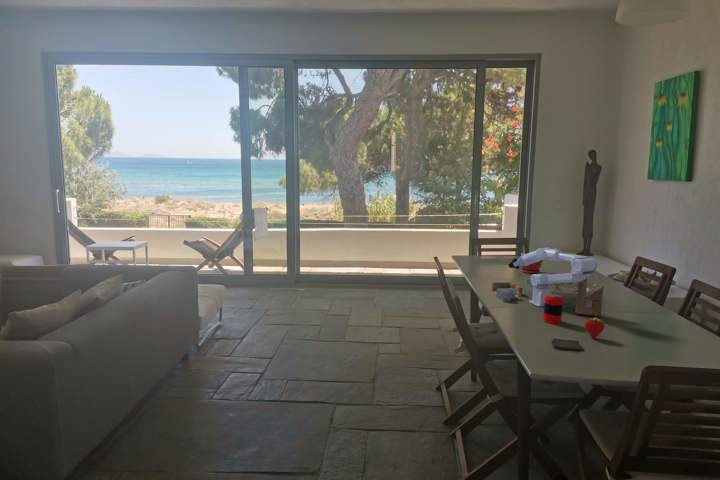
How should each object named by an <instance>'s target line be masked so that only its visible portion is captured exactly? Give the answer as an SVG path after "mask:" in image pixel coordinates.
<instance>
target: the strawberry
mask: <svg viewBox="0 0 720 480" xmlns="http://www.w3.org/2000/svg"><path fill="white" fill-rule="evenodd" d="M584 329H585V330H586V331H587V334H588V335H589V336H590V337H591V338H592V339H595V338H597V337H598V336H599V335H601V334H602V332H603V331H604V330H605V323H604V322H603V321H602V320H601V319H600V318H598V316H595V317H594V316H593V317H592V318H591V317H588V320H586V321H585V322H584Z"/></svg>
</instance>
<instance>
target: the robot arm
mask: <svg viewBox="0 0 720 480" xmlns="http://www.w3.org/2000/svg"><path fill="white" fill-rule="evenodd" d="M520 255H521V256H520V257H519V258H518V259H517V258H516V257H515V258H513V259H512V260H511V262H510V263H508V268H509V269H515V270H519V269H520V268H521V267H522V266H528V265H530V264H533V263H536V262H539V261H541V260H542V261H543V260H547V261H552V262H557V263H558V262H561V261H564V262H569V263H570V266H571V270H570V272H567V273H566V272H565V273H556V274H553V273H552V274H551V273H549V272H544V273H537V274H531V275H530V278H529V280H530V284H531V286H532V287H533V288H532V298H531V300H528V302H529V303H530V304H533V305H535V306H537V307H544V304H545V297H546V296H547V295H548V294H552V291H551V290H550V289H549V287H550V286H551V285H552V284H553V285H554V284H570V283H571V284H572V283H578V282H582V281H583V280H585V279H586V278H587V279H588V278H589V277H591V275H593V274H595V273H596V272H597V269H598V265H599V264H598V261H597V260H596V259H595V258H594V257H589V256H586V255H581V254H580V255H579V254H571V253H563V251H562V250H560V249H559V248H551V247H541V248H540V247H539V248H537V249H536V250H534V251H531V252H527V254H525V252H522V253H520ZM520 266H521V267H520Z"/></svg>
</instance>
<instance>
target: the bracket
mask: <svg viewBox="0 0 720 480" xmlns="http://www.w3.org/2000/svg"><path fill="white" fill-rule="evenodd" d="M495 292H496V293H495V294H496V295H495V298H496V299H498V300H499V301H501V302H504V303H506V302H508V303H509V302H511V300H516V299H517V297H516V290H515V289H513V288H499V289H497V291H495Z"/></svg>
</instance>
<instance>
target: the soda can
mask: <svg viewBox="0 0 720 480" xmlns="http://www.w3.org/2000/svg"><path fill="white" fill-rule="evenodd" d="M563 304H564V299H563V296H561V295H560V294H554V293H551V294H548V295H547V296H546V297H545V304H544V306H543V307H544V308H543V318H542V320H543V322H545V323H547V324H551V325H558V324H561V323H562V318H563V317H562V316H563V306H564V305H563Z"/></svg>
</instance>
